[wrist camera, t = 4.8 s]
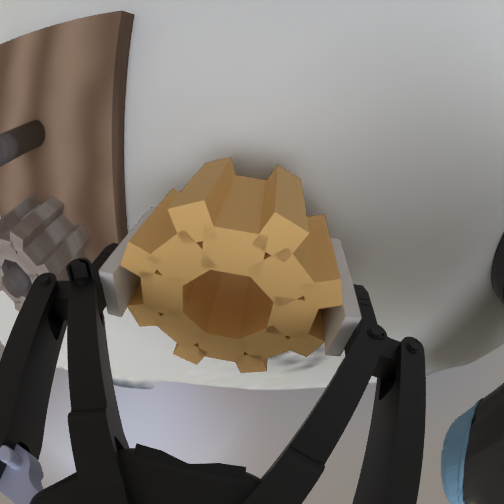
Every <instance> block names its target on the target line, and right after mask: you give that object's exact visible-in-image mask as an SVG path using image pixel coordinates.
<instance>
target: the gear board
mask: <svg viewBox="0 0 504 504" xmlns="http://www.w3.org/2000/svg"><path fill="white" fill-rule="evenodd" d="M133 18H134V14H131V13H128V12H124V11H116V12H110V13H104V14H99V15H94V16H89V17H84V18H80V19H76V20H72V21H68V22H64V23H60V24H57V25H53V26H50V27H46V28H43V29H40V30H37V31H34V32H31V33H28V34H26V35H23V36H20V37H17V38H15V39H12V40H10V41H7V42H5V43H3V44H0V217H1V219H0V291H2V290H3V291H4V292H5V293H6V294H7V295H8V296H9V297H10V298H11V299H12V300H13V301H14V303H15V309H16V310H18V311H19V312H20V310H21V307H22V305H23V303H24V301H25V299H26V297H27V294H28V292H29V290H30V288H31V286H32V284H33V282H34V280H35V279H36V278H37V277H38V276H39V275H40V274H43V273H48V272H50V273H53V274H55V275H56V278H57V281H69V278H68V275H67V271H66V266H67V264H68V263H69V262H70V261H72V260H74V259H77V258H86V259H88V260H90V261H91V264H92V263H93V261H94V260H95V259H96V258H97V257H98V255H99V254H101V252H102V251H103V249H104V248H105V247H106V246H108V245H110V244H112V243H117V244H120V243H121V242H122V240H123V239H124V238H125V237H126V236H127V234H128V233H127V220H126V206H125V186H124V109H125V90H126V77H127V65H128V55H129V47H130V39H131V31H132V24H133Z"/></svg>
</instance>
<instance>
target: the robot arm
mask: <svg viewBox="0 0 504 504" xmlns="http://www.w3.org/2000/svg"><path fill="white" fill-rule="evenodd" d="M155 209H156V208H155V207H151V208H150V209H149V210H148V211H147V212H146V213H145V214H144V216H143V217H142V218H141V219H140V220H139V221H138V223H137V224H136V225H135V226H134V227H133V228H132V230H131V231H130V232H129V233H128V234H127V236H126V237H125V238H124V239H123V240H122V242H121V243H120V244H117V243H112V244H110V245H108V246H106V247H105V248H104V249H103V251H102V252H101V254H99V255H98V257H97V258H96V259H95V260H94V261H93V263H92V264H91V261H90V260H88V259H86V258H77V259H74V260H72V261H70V262H69V263H68V264H67V266H66V271H67V275H68V278H69V281H57V278H56V275H55V274H53V273H50V272H48V273H43V274H40V275H39V276H38V277H37V278H36V279H35V280H34V282H33V284H32V286H31V288H30V290H29V292H28V294H27V297H26V299H25V301H24V303H23V305H22V307H21V310H20V312H19V314H18V316H17V319H16V321H15V324H14V326H13V328H12V331H11V333H10V336H9V339H8V341H7V344H6V346H5V349H4V352H3V355H2V358H1V361H0V492H2V493H3V494H4V495H5V496H7V497H8V498H9V499H10V500H12V501H13V502H14V503H15V504H302V502H303V501H304V500H305V498H306V497H307V495H308V494H309V492H310V491H311V490H312V488H313V486H314V485H315V483H316V482H317V481H318V479H319V477H320V476H321V474H322V472H323V471H324V468H325V466H324V465H325V463H326V461H327V459H328V457H329V456H330V454H331V452H332V451H333V449H334V448H335V446H336V444H337V442H338V441H339V439H340V437H341V435H342V433H343V432H344V430H345V428H346V426H347V424H348V422H349V421H350V419H351V417H352V415H353V413H354V411H355V409H356V407H357V405H358V403H359V401H360V399H361V397H362V395H363V392H364V391H365V389H366V386H367V384H368V382H369V380H370V378H371V376H375V377H377V385H376V392H375V400H374V407H373V413H372V419H371V426H370V431H369V436H368V441H367V446H366V451H365V456H364V460H363V465H362V469H361V473H360V477H359V481H358V485H357V489H356V493H355V496H354V500H353V504H416V502H417V496H418V490H419V484H420V476H421V468H422V459H423V448H424V434H425V411H426V410H425V409H426V381H425V379H426V377H425V353H424V347H423V345H422V344H421V342H419V341H418V340H417V339H415V338H413V337H405V338H404V339H403V340H402V341H401V342H399V341H396V340H394V339H391V338H389V337H387V334H386V331H385V330H384V329H383V328H382V327H381V326H379V325H377V321H376V318H375V314H374V311H373V307H372V304H371V301H370V297H369V294H368V292H367V291H366V289H365V288H364V287H363V286H361V285H354V284H353V282H352V279H351V275H350V272H349V268H348V264H347V261H346V258H345V254H344V251H343V247H342V244H341V241H340V239H336V238H331V241H332V245H333V249H334V253H335V257H336V261H337V265H338V270H339V274H340V278H341V289H342V303H343V304H342V305H341V306H335V307H328V308H322V309H321V310H322V319H323V328H324V338H325V342H324V343H325V354H326V355H332V356H341V354H342V352H343V351H344V350H345V358H344V359H343V361H342V363H341V364H340V366H339V367H338V369H337V371H336V373H335V375H334V376H333V378H332V380H331V381H330V383H329V385H328V386H327V388H326V390H325V391H324V393H323V394H322V396H321V397H320V399H319V400H318V402H317V403H316V405H315V406H314V408H313V410H312V411H311V413H310V414H309V415H308V417H307V418H306V420H305V421H304V423H303V424H302V426H301V427H300V429H299V430H298V431H297V433H296V434H295V436H294V437H293V438H292V440H291V441H290V443H289V444H288V445H287V447H286V448H285V449H284V451H283V452H282V453H281V454H280V456H279V457H278V458H277V460H276V461H275V462H274V463H273V465H272V466H271V467H270V469H269V470H268V471H267V472H266V473H265V474H264V476H263V477H262V478H261V479H259V478H258V477H256V476H254V475H252V474H250V473H247V472H246V467H242V466H234V465H227V464H221V463H212V464H211V463H210V464H188V463H185V462H183V461H181V460H179V459H177V458H175V457H173V456H171V455H169V454H167V453H165V452H163V451H161V450H157V449H153V448H150V447H147V446H143V445H140V444H136V448H129V446H128V443H127V440H126V438H125V435H124V432H123V428H122V424H121V419H120V416H119V411H118V406H117V401H116V396H115V391H114V386H113V380H112V374H111V368H110V361H109V354H108V347H107V339H106V330H105V321H104V314H103V310H104V308H105V307H107V311H108V314H111V315H115V316H118V317H122V315H123V313H124V312H125V310H126V308H127V305H128V303H129V301H130V299H131V298H132V296H133V294H134V292H135V291H136V289H137V287H138V286H139V284H140V282H141V277H139V276H138V275H136V274H134V273H132V272H131V271H129V270H127V269H125V268H124V267H122V266H121V265H120V264H121V261H122V258H123V256H124V253H125V250H126V247H127V244H128V241H129V240H130V239H131V238H132V236H133V235H134V234H135V233H136V231H137V230H138V229H139V228H140V227H141V225H142V224H143V223H144V222H145V221H146V219H147V218H148V217H149V216H150V215H151V213H152V212H153V211H154V210H155ZM492 285H493V288H494V291H495V292H496V294H497V295H498V297H499V298H500V300H501V301H502V303H503V304H504V236H503V238H502V240H501V242H500V245H499V247H498V250H497V253H496V256H495V259H494V263H493V268H492ZM67 323H68V324H67ZM66 327H67V348H68V373H69V389H70V400H71V412H70V413H69V414H68V425H69V433H70V439H71V445H72V451H73V456H74V462H75V467H76V471H77V472H76V473H74V474H72V475H70V476H68V477H66V478H65V479H63V480H61V481H59V482H57V483H55V484H53V485H51V486H49V487H47V488H45V489H43V487H42V484H41V480H42V478H43V472H42V468H41V465H40V463H39V461H38V459H39V455H40V451H41V448H42V442H43V435H44V427H45V420H46V414H47V408H48V402H49V397H50V392H51V387H52V382H53V377H54V373H55V368H56V364H57V360H58V356H59V352H60V348H61V344H62V341H63V337H64V334H65V330H66ZM441 476H442V484H443V489H444V492H445V495H446V497H447V499H448V501H449V502H450V504H504V383H503V384H502V385H501V386H500V387H498V388H497V389H496V390H494V391H493V392H492V393H490V394H489V395H488V396H486V397H485V398H482V399H480V400H479V401H477V402H476V404H475V405H474V406H473V407H472V408H470V409H469V410H468V411H466V412H465V413H463V414H462V415H461V416H459V417H458V418H457V419H456V420H455V421H454V422H453V423H452V425H451V426H450V427H449V429H448V431H447V434H446V436H445V439H444V443H443V450H442V454H441Z"/></svg>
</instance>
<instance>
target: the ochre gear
mask: <svg viewBox="0 0 504 504" xmlns="http://www.w3.org/2000/svg"><path fill="white" fill-rule="evenodd" d="M120 265H121V266H122V267H124V268H125V269H127V270H129V271H131V272H132V273H134V274H136V275H138V276H139V277H141V282H140V284H139V286H138V287H137V289H136V291H135V292H134V294H133V296H132V298H131V299H130V301H129V303H128V305H127V307H128V309H129V310H130V312H131V313H132V315H133V316H134V318H135V320H136V321H137V323H138V324H139V326H158V327H159V328H160V329H161V330H163V331H164V332H165V333H166V334H167V335H168V336H170V337H171V338H172V339H173V340H174V341H176V342H177V344H176V347H175V350H174V353H173V354H175V355H177V356H179V357H181V358H183V359H185V360H188V361H190V362H192V363H194V364H198V363H199V362H200V361H201V360H202V359H203V357H204V356H206V357H211V358H216V359H221V360H227V361H233V362H236V364H237V366H238V368H239V370H240V372H241V373H246V372H262V371H267V360H268V358H270V357H272V356H275V355H278V354H280V353H283V352H286V351H288V350H291V351H293V352H296V353H298V354H301V355H303V356H305V357H307V356H308V355H310V354H311V353H312V352H313V351H315V350H316V349H317V348H318V347H320V346H321V345H322V344H323V343H324V342H325V338H324V328H323V319H322V310H321V309H322V308H328V307H335V306H341V305H342V304H343V303H342V289H341V278H340V274H339V270H338V265H337V261H336V257H335V253H334V249H333V245H332V241H331V237H330V234H329V230H328V226H327V222H326V219H325V215H324V214H321V215H315V216H309V217H307V213H306V207H305V201H304V195H303V189H302V184H301V179H300V178H298V177H297V176H295V175H293V174H292V173H290V172H289V171H287V170H286V169H284V168H282V167H281V166H279V165H277V166H276V167H275V169H274V170H273V172H272V173H271V175H270V176H269V178H268V179H267V180H263V179H257V178H251V177H245V176H238V175H236V173H235V169H234V166H233V162H232V159H231V157H228V158H224V159H220V160H216V161H212V162H208V163H205V164H204V165H203V166H202V167H201V168H200V170H199V171H198V172H197V173H196V174H195V176H194V177H193V178H192V179H191V180H190V182H189V183H188V184H187V185H186V186H185V188H184V189H183V190H182V191H181V193H180V192H179V191H177V190H175V189H172V190H171V191H170V193H169V194H168V195H167V196H166V197H165V198H164V199H163V201H162V202H161V203H160V204H159V205H158V206H157V208H156V209H155V210H154V211H153V212H152V213H151V215H150V216H149V217H148V218H147V219H146V221H145V222H144V223H143V224H142V225H141V227H140V228H139V229H138V230H137V231H136V233H135V234H134V235H133V236H132V238H131V239H130V240H129V241H128V244H127V247H126V250H125V253H124V256H123V258H122V261H121V264H120Z"/></svg>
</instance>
